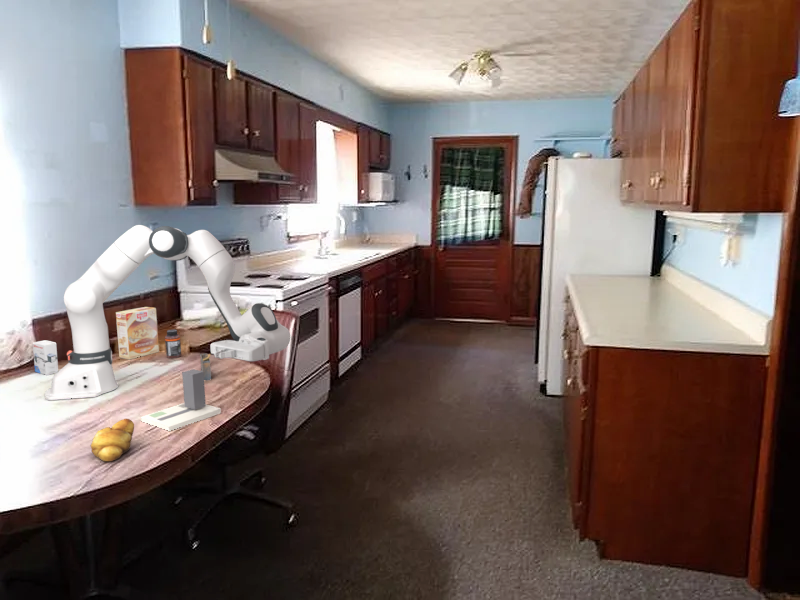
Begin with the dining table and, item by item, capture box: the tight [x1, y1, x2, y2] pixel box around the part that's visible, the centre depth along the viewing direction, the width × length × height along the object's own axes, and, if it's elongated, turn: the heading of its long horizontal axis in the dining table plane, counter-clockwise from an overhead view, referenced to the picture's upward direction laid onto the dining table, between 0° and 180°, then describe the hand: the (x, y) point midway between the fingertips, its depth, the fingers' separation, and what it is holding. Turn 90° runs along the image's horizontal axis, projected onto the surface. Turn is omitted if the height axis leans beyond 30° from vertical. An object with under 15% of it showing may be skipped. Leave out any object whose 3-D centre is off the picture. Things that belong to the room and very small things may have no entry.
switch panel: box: [140, 402, 222, 432], centre depth 184 cm, size 18×14×2 cm
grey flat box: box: [199, 353, 212, 381], centre depth 226 cm, size 11×3×10 cm, turn 22°
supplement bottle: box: [164, 329, 182, 359], centre depth 253 cm, size 6×6×11 cm
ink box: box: [32, 339, 59, 376], centre depth 232 cm, size 9×5×12 cm, turn 58°
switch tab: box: [181, 368, 207, 410], centre depth 186 cm, size 4×5×11 cm
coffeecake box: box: [115, 306, 160, 360], centre depth 256 cm, size 15×7×20 cm, turn 151°
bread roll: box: [90, 418, 135, 462], centre depth 157 cm, size 13×10×8 cm
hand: (217, 355), depth 193 cm, fingers closed
